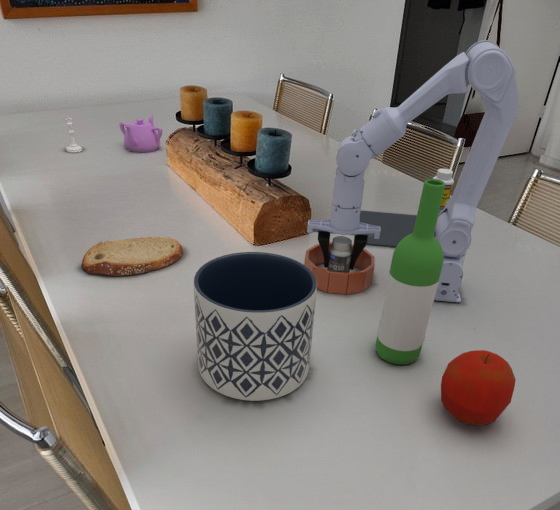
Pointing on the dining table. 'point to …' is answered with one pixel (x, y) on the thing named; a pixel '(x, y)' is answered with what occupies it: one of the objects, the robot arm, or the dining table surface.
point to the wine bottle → (412, 283)
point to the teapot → (141, 135)
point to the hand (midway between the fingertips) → (338, 266)
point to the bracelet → (339, 280)
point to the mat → (389, 227)
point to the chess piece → (72, 138)
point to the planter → (254, 324)
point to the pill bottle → (340, 255)
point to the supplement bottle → (446, 177)
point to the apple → (477, 387)
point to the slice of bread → (131, 256)
